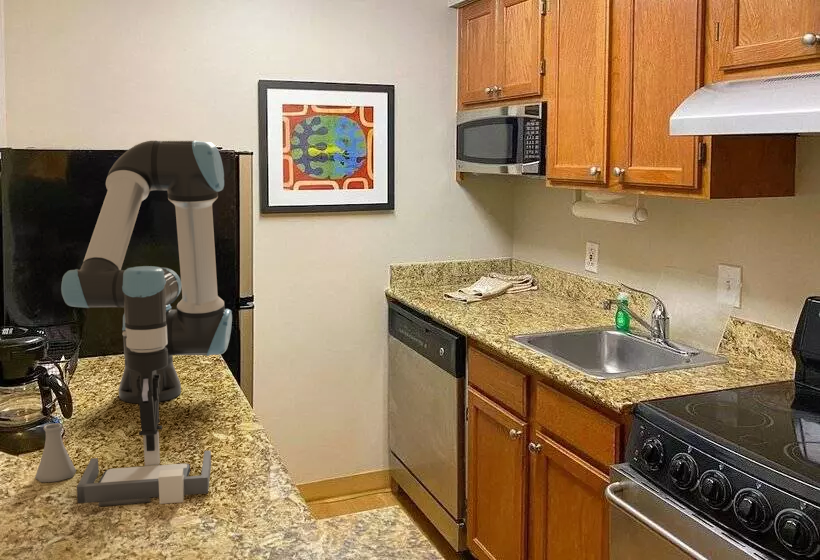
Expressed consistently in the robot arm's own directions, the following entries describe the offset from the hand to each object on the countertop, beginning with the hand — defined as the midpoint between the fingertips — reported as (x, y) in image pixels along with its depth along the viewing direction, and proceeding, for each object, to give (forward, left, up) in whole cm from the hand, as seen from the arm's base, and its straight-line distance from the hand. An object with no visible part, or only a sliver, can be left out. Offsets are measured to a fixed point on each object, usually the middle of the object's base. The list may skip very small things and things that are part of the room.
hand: (152, 463), depth 151 cm
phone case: (+5, -1, -2) cm, 5 cm away
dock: (+8, 0, -1) cm, 8 cm away
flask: (0, -18, -1) cm, 18 cm away
